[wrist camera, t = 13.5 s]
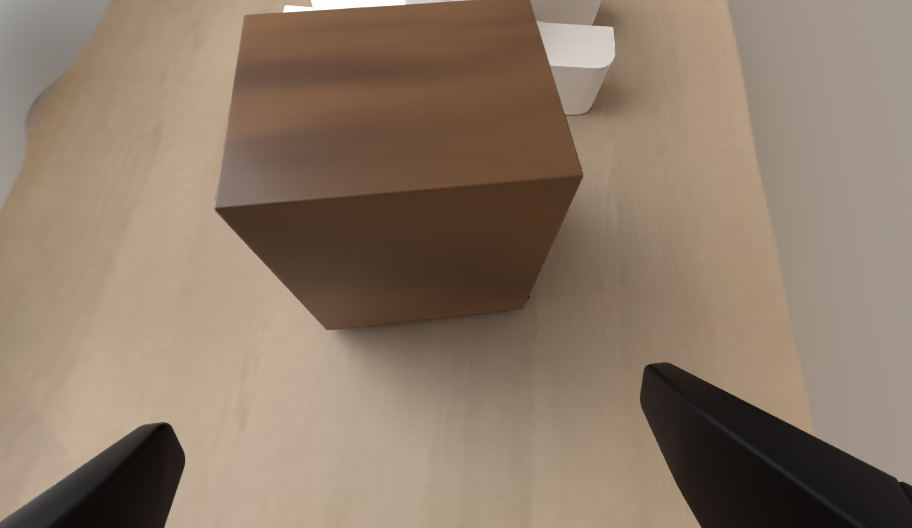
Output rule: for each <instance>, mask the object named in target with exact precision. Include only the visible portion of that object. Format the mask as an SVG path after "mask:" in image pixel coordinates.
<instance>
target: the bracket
mask: <svg viewBox="0 0 912 528" xmlns="http://www.w3.org/2000/svg"><path fill="white" fill-rule="evenodd" d="M450 1H465V0H311V2H312V5H313V7H298V6H285V8H284V11H283V12H298V11H313V10H328V9H344V8H359V7H374V6H389V5H404V4H419V3H434V2H450ZM601 1H602V0H530V2H531V5H532V8H533V12H534V15H535V18H536V21H537V25H538V28H539V31H540V34H541V38H542V41H543V44H544V48H545V51H546V54H547V57H548V61H549V64H550V67H551V70H552V74H553V77H554V80H555V83H556V87H557V90H558V93H559V97H560V100H561V103H562V106H563V110H564V113H565V114H569V115H580V114H583V113H585V112H587V111H588V110H589V109H590V108H591V107H592V104H593V102H594V100H595V98H596V96H597V94H598V92H599V89H600V87H601V85H602V83H603V81H604V79H605V77H606V74H607V72H608V70H609V68H610V66H611V64H612V62H613V59H614V57H615V44H614V32H613V27H605V26H592V25H593V22H594V20H595V17H596V14H597V12H598V9H599V6H600V4H601Z"/></svg>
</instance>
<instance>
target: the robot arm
mask: <svg viewBox="0 0 912 528" xmlns="http://www.w3.org/2000/svg"><path fill="white" fill-rule="evenodd" d="M640 403H641V407H642V410H643V412H644V414H645V416H646V419H647V421H648V423H649V425H650V427H651V430H652V432H653V434H654V436H655V438H656V441H657V443H658V445H659V447H660V449H661V452H662V454H663V456H664V458H665V460H666V463H667V465H668V467H669V469H670V471H671V473H672V475H673V478H674V480H675V482H676V484H677V486H678V487H679V489H680V491H681V493H682V495H683V496H684V498H685V500H686V502H687V503H688V505H689V507H690V509H691V510H692V512H693V514H694V516H695V517H696V519H697V521H698V522H699V524H700V526H701V528H912V486H911V485H909V484H907V483H904V482H898V480H897V479H896V478H895V477H893V476H891V475H889V474H887V473H885V472H883V471H881V470H879V469H877V468H875V467H873V466H871V465H869V464H867V463H865V462H863V461H861V460H859V459H857V458H855V457H853V456H851V455H850V454H848V453H846V452H844V451H842V450H840V449H838V448H836V447H834V446H832V445H830V444H828V443H826V442H824V441H822V440H820V439H818V438H816V437H814V436H812V435H810V434H808V433H806V432H804V431H802V430H800V429H798V428H796V427H794V426H793V425H791V424H789V423H787V422H785V421H783V420H781V419H779V418H777V417H775V416H773V415H771V414H769V413H767V412H765V411H763V410H761V409H759V408H757V407H755V406H753V405H751V404H749V403H747V402H745V401H743V400H741V399H739V398H737V397H736V396H734V395H732V394H730V393H728V392H726V391H724V390H722V389H720V388H718V387H716V386H714V385H712V384H710V383H708V382H706V381H704V380H702V379H700V378H698V377H696V376H694V375H692V374H690V373H688V372H686V371H684V370H682V369H680V368H679V367H677V366H675V365H673V364H670V363H667V362H662V363H654V364H649V365H647V366H646V367H645V369H644V373H643V380H642V386H641V393H640ZM184 466H185V454H184V451H183V449H182V447H181V445H180V443H179V441H178V438H177V436H176V434H175V432H174V430H173V428H172V426H171V425H170V424H168V423H165V422H161V423H153V424H146V425H142V426H140V427H138V428H137V429H135V430H134V431H132V432H131V433H129V434H128V435H126V436H125V437H124V438H122V439H121V440H119V441H118V442H116V443H115V444H113V445H112V446H110V447H109V448H107V449H106V450H105V451H103V452H102V453H100V454H99V455H97V456H96V457H94V458H93V459H91V460H90V461H88V462H87V463H86V464H84V465H83V466H81V467H80V468H78V469H77V470H75V471H74V472H72V473H71V474H69V475H68V476H67V477H65V478H64V479H62V480H61V481H59V482H58V483H56V484H55V485H53V486H52V487H50V488H49V489H48V490H46V491H45V492H43V493H42V494H40V495H39V496H37V497H36V498H34V499H33V500H31V501H30V502H29V503H27V504H26V505H24V506H23V507H21V508H20V509H18V510H17V511H15V512H14V513H12V514H11V515H9V516H8V517H7V518H5V519H4V520H2V521H1V522H0V528H164V526H165V523H166V520H167V517H168V514H169V511H170V509H171V506H172V503H173V500H174V497H175V494H176V491H177V488H178V485H179V482H180V479H181V476H182V473H183V470H184Z"/></svg>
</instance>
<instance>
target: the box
mask: <svg viewBox="0 0 912 528" xmlns="http://www.w3.org/2000/svg"><path fill="white" fill-rule="evenodd" d="M582 178H583V172H582V168H581V165H580V162H579V159H578V155H577V152H576V149H575V146H574V142H573V139H572V136H571V133H570V129H569V126H568V123H567V119H566V116H565V113H564V110H563V106H562V103H561V100H560V97H559V93H558V90H557V87H556V83H555V80H554V77H553V74H552V70H551V67H550V64H549V61H548V57H547V54H546V51H545V48H544V44H543V41H542V38H541V34H540V31H539V28H538V25H537V21H536V18H535V15H534V12H533V8H532V5H531V2H530V0H465V1H450V2H434V3H419V4H404V5H389V6H374V7H359V8H344V9H328V10H313V11H298V12H283V13H268V14H253V15H245V16H244V20H243V26H242V33H241V39H240V45H239V52H238V58H237V64H236V71H235V77H234V83H233V90H232V96H231V103H230V109H229V115H228V122H227V128H226V134H225V141H224V147H223V153H222V160H221V166H220V172H219V179H218V185H217V192H216V198H215V204H214V210H215V211H216V212H217V213H218V214H219V216H220V217H221V218H222V219H223V220H224V221H225V222H226V223H227V224H228V225H229V226H230V227H231V228H232V229H233V231H234V232H235V233H236V234H237V235H238V236H239V237H240V238H241V239H242V240H243V241H244V242H245V243H246V244H247V245H248V247H249V248H250V249H251V250H252V251H253V252H254V253H255V254H256V255H257V256H258V257H259V258H260V259H261V260H262V261H263V263H264V264H265V265H266V266H267V267H268V268H269V269H270V270H271V271H272V272H273V273H274V274H275V275H276V276H277V277H278V279H279V280H280V281H281V282H282V283H283V284H284V285H285V286H286V287H287V288H288V289H289V290H290V291H291V292H292V293H293V295H294V296H295V297H296V298H297V299H298V300H299V301H300V302H301V303H302V304H303V305H304V306H305V307H306V308H307V309H308V311H309V312H310V313H311V314H312V315H313V316H314V317H315V318H316V319H317V320H318V321H319V322H320V323H321V324H322V325H323V327H324V328H325V329H326V330H333V329H342V328H351V327H360V326H370V325H379V324H388V323H397V322H406V321H415V320H425V319H434V318H443V317H452V316H461V315H470V314H480V313H489V312H498V311H507V310H516V309H523V308H524V306H525V304H526V301H527V299H528V297H529V295H530V293H531V290H532V288H533V286H534V284H535V282H536V279H537V277H538V275H539V273H540V271H541V268H542V266H543V264H544V262H545V260H546V257H547V255H548V253H549V251H550V249H551V246H552V244H553V242H554V240H555V238H556V235H557V233H558V231H559V229H560V227H561V224H562V222H563V220H564V218H565V216H566V213H567V211H568V209H569V207H570V205H571V202H572V200H573V198H574V196H575V194H576V191H577V189H578V187H579V185H580V182H581V180H582Z"/></svg>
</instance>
